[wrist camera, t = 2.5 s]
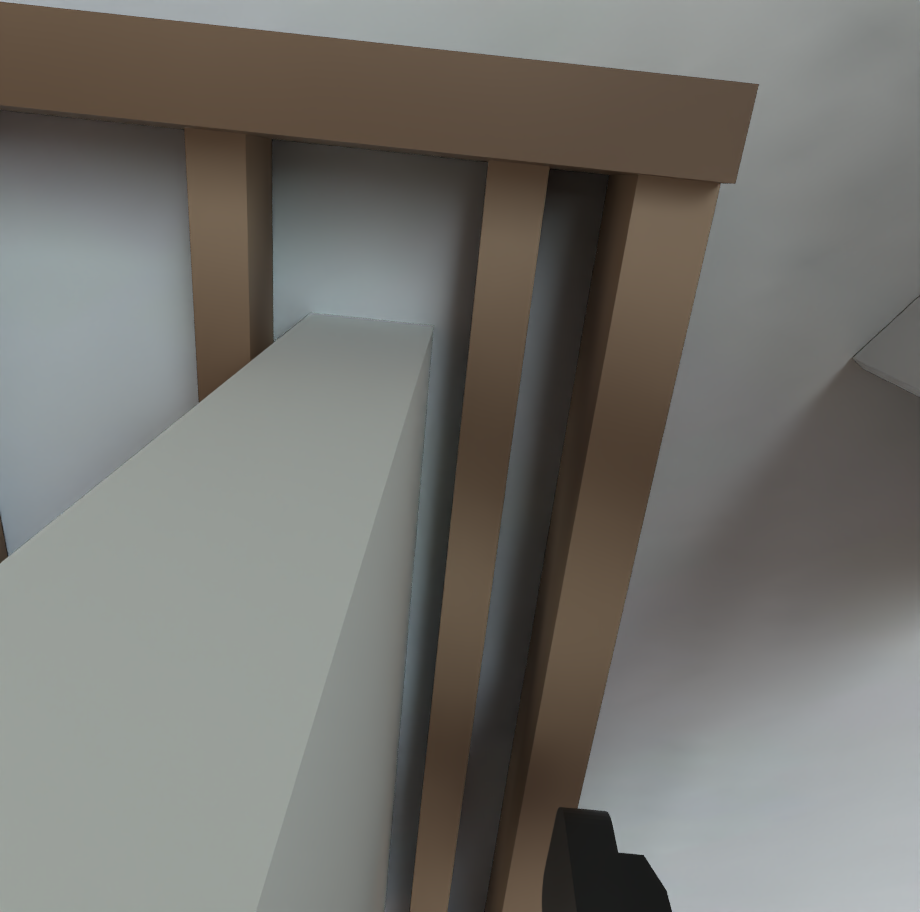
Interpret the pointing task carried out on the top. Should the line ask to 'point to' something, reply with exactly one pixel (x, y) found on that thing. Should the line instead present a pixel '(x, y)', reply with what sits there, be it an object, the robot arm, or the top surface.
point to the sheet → (223, 647)
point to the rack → (492, 327)
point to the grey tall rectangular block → (896, 351)
